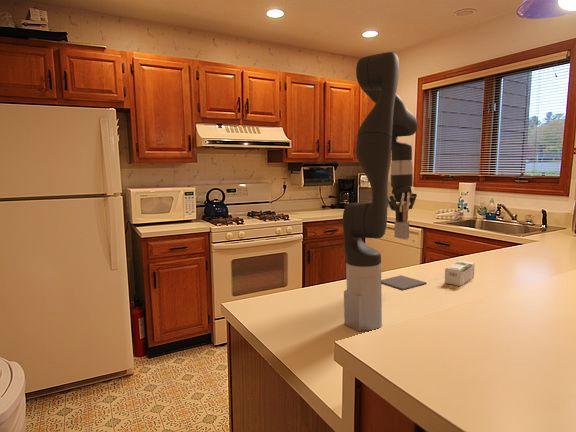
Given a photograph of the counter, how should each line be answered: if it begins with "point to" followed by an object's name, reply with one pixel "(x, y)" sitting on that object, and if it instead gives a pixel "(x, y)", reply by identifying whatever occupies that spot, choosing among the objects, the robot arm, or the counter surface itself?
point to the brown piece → (402, 225)
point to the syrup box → (459, 273)
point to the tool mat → (402, 282)
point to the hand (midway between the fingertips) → (401, 221)
